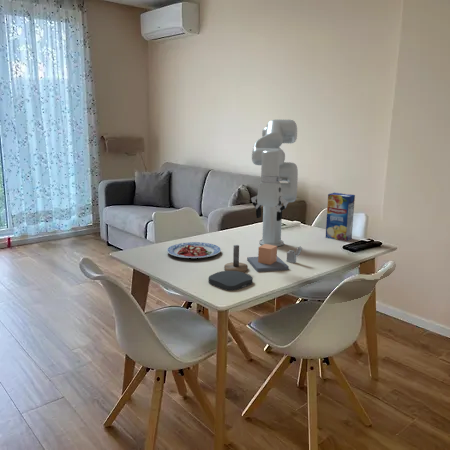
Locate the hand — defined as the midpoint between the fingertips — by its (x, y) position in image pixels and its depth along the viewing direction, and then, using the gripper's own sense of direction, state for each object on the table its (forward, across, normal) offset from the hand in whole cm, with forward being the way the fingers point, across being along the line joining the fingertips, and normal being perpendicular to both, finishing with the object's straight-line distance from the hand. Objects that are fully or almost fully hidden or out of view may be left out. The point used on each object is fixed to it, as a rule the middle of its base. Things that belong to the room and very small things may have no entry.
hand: (268, 218), depth 196 cm
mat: (+21, 0, +1) cm, 21 cm away
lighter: (+21, -9, -9) cm, 25 cm away
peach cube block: (+19, 0, +1) cm, 19 cm away
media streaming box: (+21, +2, +28) cm, 35 cm away
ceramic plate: (+22, +37, +4) cm, 43 cm away
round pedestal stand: (+21, +8, +13) cm, 26 cm away
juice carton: (+22, -11, -63) cm, 67 cm away
